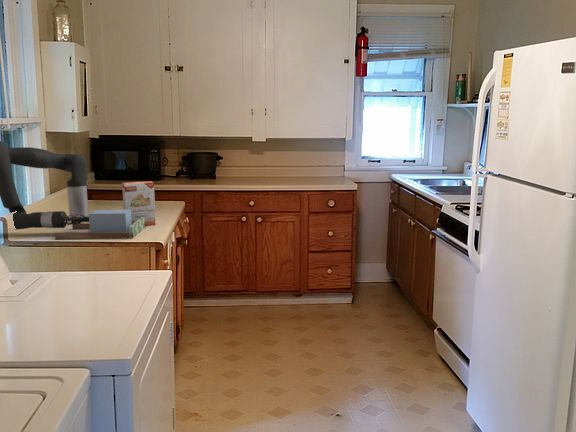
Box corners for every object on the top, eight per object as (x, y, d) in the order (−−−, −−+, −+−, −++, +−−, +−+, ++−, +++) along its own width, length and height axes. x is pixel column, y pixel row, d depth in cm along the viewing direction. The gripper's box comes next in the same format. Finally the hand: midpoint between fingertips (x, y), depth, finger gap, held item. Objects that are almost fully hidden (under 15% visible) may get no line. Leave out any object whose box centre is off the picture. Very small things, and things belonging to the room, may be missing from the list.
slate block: (97, 231, 256) (95, 209, 255) (132, 230, 257) (130, 209, 255) (90, 236, 247) (88, 213, 245) (126, 235, 247) (125, 213, 245)
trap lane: (73, 228, 262) (72, 218, 261) (144, 227, 263) (144, 217, 262) (55, 239, 240) (54, 228, 239) (133, 238, 241) (132, 226, 240)
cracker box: (126, 227, 263) (124, 183, 259) (124, 225, 268) (121, 182, 264) (156, 224, 269) (154, 181, 265) (153, 222, 274) (150, 180, 270)
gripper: (47, 214, 242) (87, 213, 243) (58, 208, 255) (96, 208, 256) (48, 231, 244) (88, 230, 244) (60, 224, 257) (97, 224, 257)
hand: (92, 219), depth 250 cm, fingers closed
